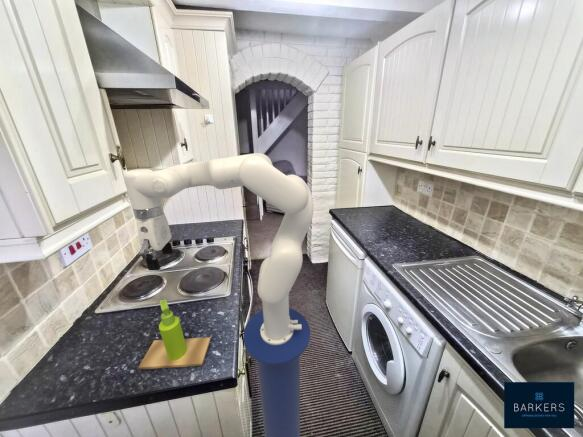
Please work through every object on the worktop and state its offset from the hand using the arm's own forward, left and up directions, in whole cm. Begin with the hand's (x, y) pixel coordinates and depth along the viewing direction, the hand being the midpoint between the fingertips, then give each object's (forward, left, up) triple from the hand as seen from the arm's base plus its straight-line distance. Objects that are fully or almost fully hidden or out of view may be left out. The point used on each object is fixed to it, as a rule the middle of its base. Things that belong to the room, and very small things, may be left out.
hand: (161, 261), depth 74 cm
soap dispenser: (-2, +9, -31) cm, 32 cm away
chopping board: (-2, +9, -31) cm, 33 cm away
